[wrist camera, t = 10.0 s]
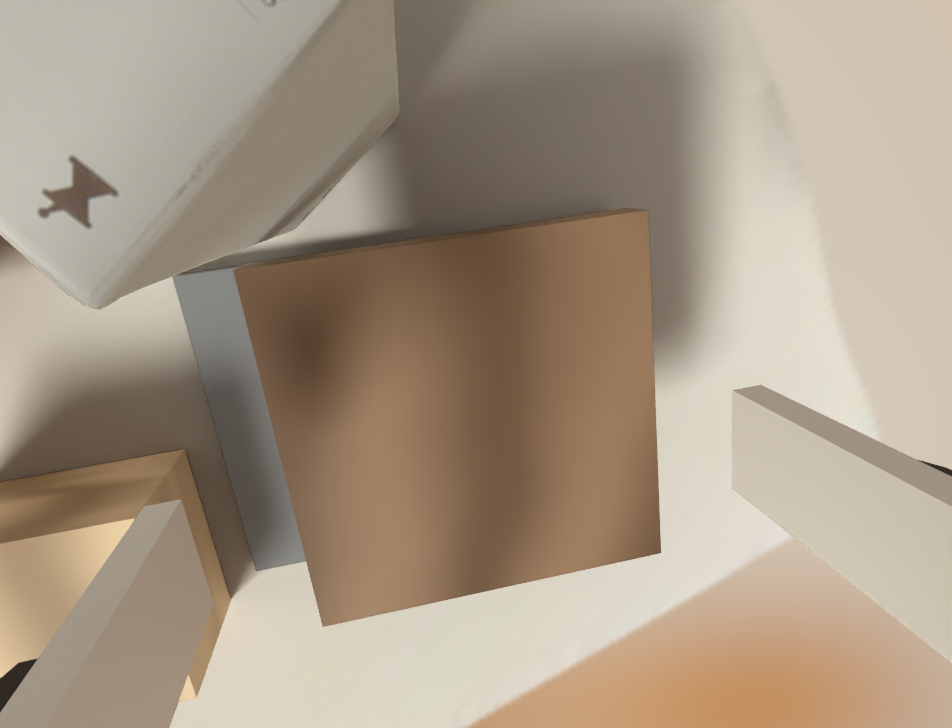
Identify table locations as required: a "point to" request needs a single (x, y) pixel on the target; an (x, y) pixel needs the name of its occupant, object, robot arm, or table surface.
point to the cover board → (462, 407)
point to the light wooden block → (89, 547)
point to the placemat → (240, 414)
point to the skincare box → (179, 127)
